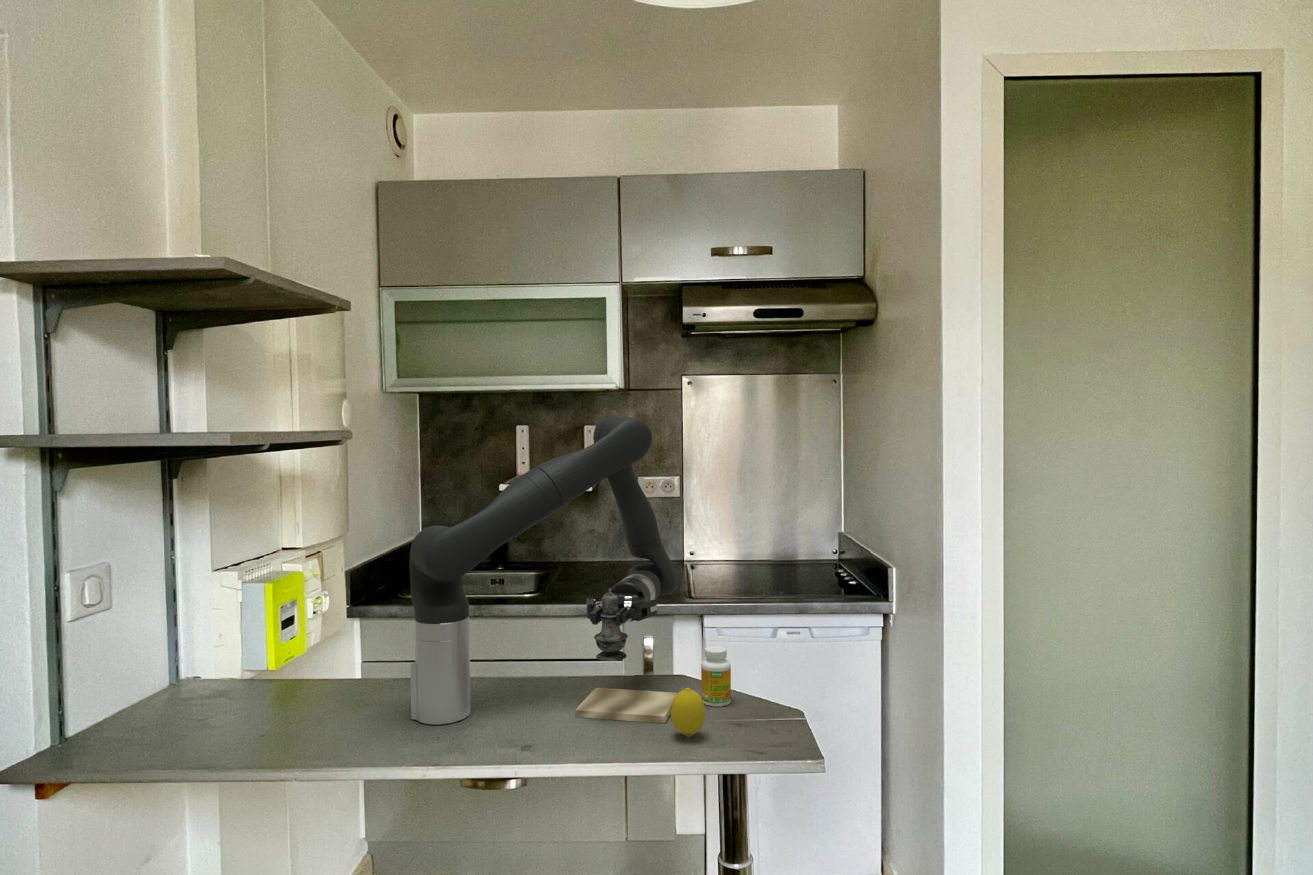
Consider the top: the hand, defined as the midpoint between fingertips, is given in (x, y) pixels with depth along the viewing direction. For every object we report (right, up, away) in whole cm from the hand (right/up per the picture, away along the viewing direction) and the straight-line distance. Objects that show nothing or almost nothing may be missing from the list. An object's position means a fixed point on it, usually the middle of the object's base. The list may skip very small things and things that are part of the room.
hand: (606, 619), depth 130 cm
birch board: (+4, -18, +7) cm, 19 cm away
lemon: (+14, -18, -6) cm, 23 cm away
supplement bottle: (+20, -18, +10) cm, 28 cm away
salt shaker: (+1, -7, +3) cm, 8 cm away
